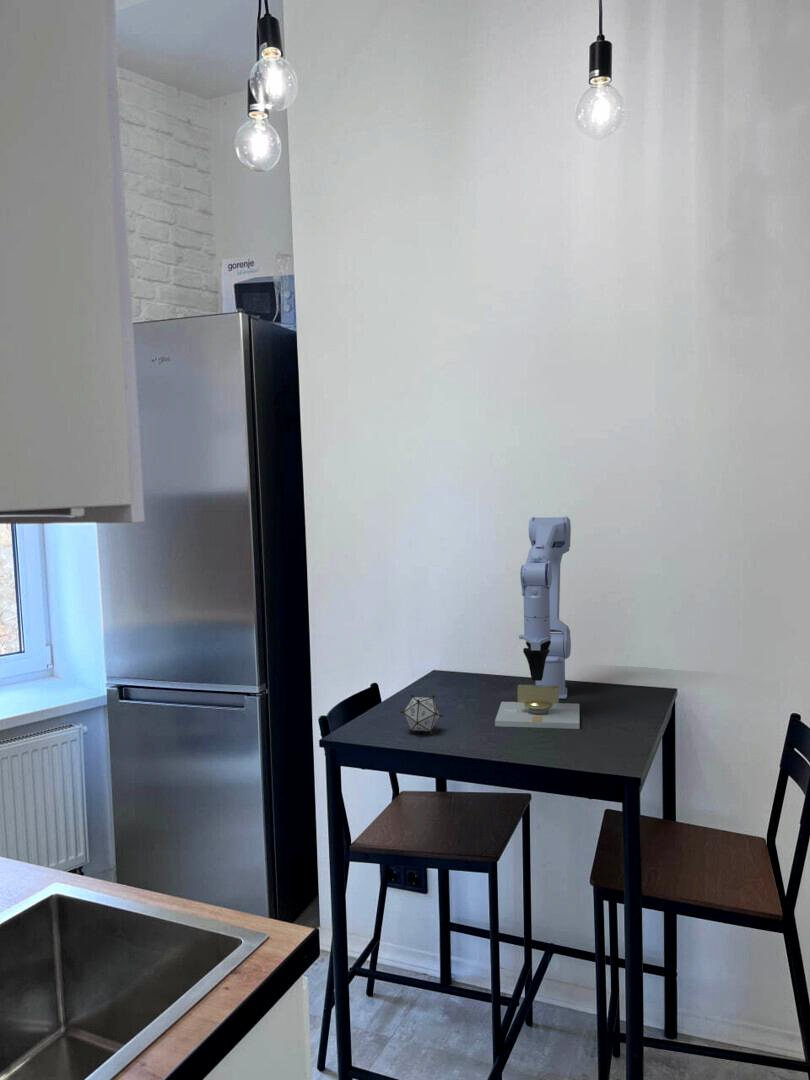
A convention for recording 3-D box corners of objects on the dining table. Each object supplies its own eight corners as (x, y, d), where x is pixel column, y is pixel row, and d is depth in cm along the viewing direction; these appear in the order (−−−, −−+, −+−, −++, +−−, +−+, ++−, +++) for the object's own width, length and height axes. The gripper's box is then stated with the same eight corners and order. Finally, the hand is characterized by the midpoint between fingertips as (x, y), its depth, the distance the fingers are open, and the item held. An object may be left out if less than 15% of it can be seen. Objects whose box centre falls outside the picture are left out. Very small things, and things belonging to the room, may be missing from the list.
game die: (429, 747, 182) (455, 708, 183) (420, 744, 174) (447, 704, 175) (397, 723, 185) (423, 685, 186) (386, 719, 177) (413, 680, 178)
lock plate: (501, 706, 199) (501, 696, 199) (579, 708, 195) (579, 698, 195) (495, 726, 183) (494, 715, 183) (579, 728, 179) (579, 717, 179)
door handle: (519, 701, 193) (518, 681, 193) (559, 702, 191) (558, 682, 191) (517, 708, 187) (516, 688, 186) (558, 709, 185) (558, 689, 185)
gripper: (520, 611, 195) (521, 668, 196) (516, 621, 181) (517, 683, 182) (551, 611, 194) (552, 669, 195) (549, 621, 180) (550, 684, 181)
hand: (537, 676), depth 188 cm, fingers open, 7 cm apart
